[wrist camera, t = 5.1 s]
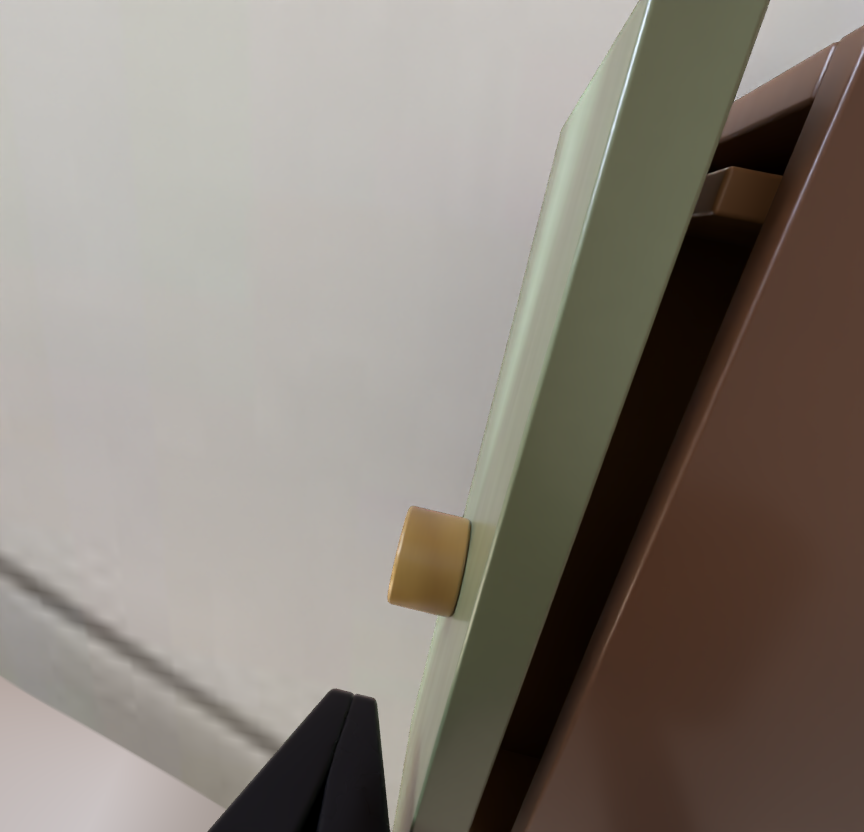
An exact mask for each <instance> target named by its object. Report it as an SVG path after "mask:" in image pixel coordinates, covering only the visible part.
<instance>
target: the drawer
mask: <svg viewBox="0 0 864 832" xmlns="http://www.w3.org/2000/svg"><path fill="white" fill-rule="evenodd" d="M769 2H770V0H639V2H638V3H637V5H636V7H635V8H634V10H633V12H632V13H631V15H630V17H629V18H628V20H627V22H626V23H625V25H624V27H623V28H622V30H621V32H620V33H619V35H618V37H617V38H616V40H615V42H614V43H613V45H612V46H611V48H610V50H609V51H608V53H607V55H606V56H605V58H604V60H603V61H602V63H601V65H600V66H599V68H598V70H597V71H596V73H595V75H594V76H593V78H592V80H591V81H590V83H589V85H588V86H587V88H586V90H585V91H584V93H583V95H582V96H581V98H580V100H579V101H578V103H577V105H576V106H575V108H574V110H573V111H572V113H571V115H570V116H569V118H568V120H567V121H566V123H565V124H564V126H563V128H562V129H561V133H560V137H559V141H558V145H557V149H556V153H555V157H554V161H553V164H552V168H551V172H550V176H549V180H548V184H547V188H546V192H545V196H544V200H543V204H542V208H541V212H540V216H539V220H538V224H537V228H536V231H535V235H534V239H533V243H532V247H531V251H530V255H529V259H528V263H527V267H526V271H525V275H524V279H523V283H522V287H521V291H520V295H519V299H518V302H517V306H516V310H515V314H514V318H513V322H512V326H511V330H510V334H509V338H508V342H507V346H506V350H505V354H504V358H503V362H502V366H501V370H500V373H499V377H498V381H497V385H496V389H495V393H494V397H493V401H492V405H491V409H490V413H489V417H488V421H487V425H486V429H485V433H484V437H483V440H482V444H481V448H480V452H479V456H478V460H477V464H476V468H475V472H474V476H473V480H472V484H471V488H470V492H469V496H468V500H467V504H466V508H465V511H464V515H463V517H459V516H454V515H450V514H446V513H442V512H437V511H433V510H429V509H424V508H420V507H416V506H411V507H410V508H409V510H408V512H407V515H406V518H405V522H404V525H403V529H402V533H401V536H400V540H399V544H398V548H397V552H396V557H395V561H394V565H393V570H392V574H391V579H390V584H389V590H388V602H389V603H390V604H393V605H397V606H401V607H406V608H410V609H414V610H418V611H422V612H426V613H430V614H434V615H438V618H437V622H436V626H435V630H434V634H433V638H432V642H431V646H430V650H429V653H428V657H427V661H426V665H425V669H424V673H423V677H422V681H421V685H420V689H419V693H418V697H417V701H416V705H415V709H414V713H413V717H412V720H411V726H410V732H409V738H408V744H407V750H406V756H405V762H404V768H403V773H402V779H401V785H400V791H399V797H398V803H397V809H396V815H395V821H394V827H393V832H511V830H512V828H513V825H514V823H515V821H516V818H517V816H518V813H519V811H520V809H521V806H522V804H523V801H524V799H525V797H526V794H527V792H528V789H529V787H530V784H531V782H532V780H533V777H534V775H535V772H536V770H537V768H538V765H539V763H540V760H541V758H542V756H543V753H544V751H545V748H546V746H547V743H548V741H549V739H550V736H551V734H552V731H553V729H554V727H555V724H556V722H557V719H558V717H559V715H560V712H561V710H562V707H563V705H564V703H565V700H566V698H567V695H568V693H569V690H570V688H571V686H572V683H573V681H574V678H575V676H576V674H577V671H578V669H579V666H580V664H581V662H582V659H583V657H584V654H585V652H586V649H587V647H588V645H589V642H590V640H591V637H592V635H593V633H594V630H595V628H596V625H597V623H598V621H599V618H600V616H601V613H602V611H603V609H604V606H605V604H606V601H607V599H608V596H609V594H610V592H611V589H612V587H613V584H614V582H615V580H616V577H617V575H618V572H619V570H620V568H621V565H622V563H623V560H624V558H625V555H626V553H627V551H628V548H629V546H630V543H631V541H632V539H633V536H634V534H635V531H636V529H637V527H638V524H639V522H640V519H641V517H642V514H643V512H644V510H645V507H646V505H647V502H648V500H649V498H650V495H651V493H652V490H653V488H654V486H655V483H656V481H657V478H658V476H659V474H660V471H661V469H662V466H663V464H664V461H665V459H666V457H667V454H668V452H669V449H670V447H671V445H672V442H673V440H674V437H675V435H676V433H677V430H678V428H679V425H680V423H681V420H682V418H683V416H684V413H685V411H686V408H687V406H688V404H689V401H690V399H691V396H692V394H693V392H694V389H695V387H696V384H697V382H698V380H699V377H700V375H701V372H702V370H703V367H704V365H705V363H706V360H707V358H708V355H709V353H710V351H711V348H712V346H713V343H714V341H715V339H716V336H717V334H718V331H719V329H720V326H721V324H722V322H723V319H724V317H725V314H726V312H727V310H728V307H729V305H730V302H731V300H732V298H733V295H734V293H735V290H736V288H737V286H738V283H739V281H740V278H741V276H742V273H743V271H744V269H745V266H746V264H747V261H748V259H749V257H750V254H751V252H752V249H753V247H754V245H755V242H756V240H757V237H758V235H759V232H760V230H761V228H762V225H763V223H764V220H765V218H766V216H767V213H768V211H769V208H770V206H771V204H772V201H773V199H774V196H775V194H776V191H777V189H778V187H779V184H780V182H781V179H782V177H783V176H782V175H776V174H771V173H766V172H761V171H756V170H751V169H746V168H740V167H735V166H731V167H727V168H724V169H721V170H718V171H715V172H712V173H709V174H707V173H708V171H709V168H710V165H711V162H712V160H713V157H714V154H715V151H716V149H717V146H718V143H719V140H720V137H721V135H722V132H723V129H724V126H725V124H726V121H727V118H728V115H729V113H730V110H731V107H732V104H733V102H734V99H735V96H736V93H737V91H738V88H739V85H740V82H741V79H742V77H743V74H744V71H745V68H746V66H747V63H748V60H749V57H750V55H751V52H752V49H753V46H754V44H755V41H756V38H757V35H758V33H759V30H760V27H761V24H762V21H763V19H764V16H765V13H766V10H767V8H768V5H769Z"/></svg>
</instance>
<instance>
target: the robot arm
mask: <svg viewBox="0 0 864 832" xmlns="http://www.w3.org/2000/svg"><path fill="white" fill-rule="evenodd" d="M208 832H390V827H389V818H388V808H387V798H386V788H385V778H384V768H383V758H382V748H381V739H380V729H379V719H378V709H377V702H376V700H375V699H374V698H372V697H368V696H364V695H360V694H355V695H354V694H353V693H351V692H348V691H344V690H340V689H332V690H330V691H329V692H328V693H327V694H326V695H325V697H324V698H323V699H322V700H321V701H320V702H319V703H318V705H317V706H316V707H315V708H314V709H313V710H312V712H311V713H310V714H309V715H308V716H307V717H306V719H305V720H304V721H303V722H302V723H301V724H300V725H299V727H298V728H297V729H296V730H295V731H294V732H293V734H292V735H291V736H290V737H289V738H288V739H287V740H286V742H285V743H284V744H283V745H282V746H281V747H280V749H279V750H278V751H277V752H276V753H275V754H274V755H273V757H272V758H271V759H270V760H269V761H268V762H267V764H266V765H265V766H264V767H263V768H262V769H261V770H260V772H259V773H258V774H257V775H256V776H255V777H254V779H253V780H252V781H251V782H250V783H249V784H248V786H247V787H246V788H245V789H244V790H243V791H242V792H241V794H240V795H239V796H238V797H237V798H236V799H235V801H234V802H233V803H232V804H231V805H230V806H229V807H228V809H227V810H226V811H225V812H224V813H223V814H222V816H221V817H220V818H219V819H218V820H217V821H216V822H215V824H214V825H213V826H212V827H211V828H210V830H209V831H208Z"/></svg>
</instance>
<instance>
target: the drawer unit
mask: <svg viewBox="0 0 864 832" xmlns="http://www.w3.org/2000/svg"><path fill="white" fill-rule="evenodd" d="M731 166H735V167H740V168H746V169H751V170H756V171H761V172H766V173H771V174H776V175H782V176H783V177H782V179H781V182H780V184H779V187H778V189H777V191H776V194H775V196H774V199H773V201H772V204H771V206H770V208H769V211H768V213H767V216H766V218H765V220H764V223H763V225H762V228H761V230H760V232H759V235H758V237H757V240H756V242H755V245H754V247H753V249H752V252H751V254H750V257H749V259H748V261H747V264H746V266H745V269H744V271H743V273H742V276H741V278H740V281H739V283H738V286H737V288H736V290H735V293H734V295H733V298H732V300H731V302H730V305H729V307H728V310H727V312H726V314H725V317H724V319H723V322H722V324H721V326H720V329H719V331H718V334H717V336H716V339H715V341H714V343H713V346H712V348H711V351H710V353H709V355H708V358H707V360H706V363H705V365H704V367H703V370H702V372H701V375H700V377H699V380H698V382H697V384H696V387H695V389H694V392H693V394H692V396H691V399H690V401H689V404H688V406H687V408H686V411H685V413H684V416H683V418H682V420H681V423H680V425H679V428H678V430H677V433H676V435H675V437H674V440H673V442H672V445H671V447H670V449H669V452H668V454H667V457H666V459H665V461H664V464H663V466H662V469H661V471H660V474H659V476H658V478H657V481H656V483H655V486H654V488H653V490H652V493H651V495H650V498H649V500H648V502H647V505H646V507H645V510H644V512H643V514H642V517H641V519H640V522H639V524H638V527H637V529H636V531H635V534H634V536H633V539H632V541H631V543H630V546H629V548H628V551H627V553H626V555H625V558H624V560H623V563H622V565H621V568H620V570H619V572H618V575H617V577H616V580H615V582H614V584H613V587H612V589H611V592H610V594H609V596H608V599H607V601H606V604H605V606H604V609H603V611H602V613H601V616H600V618H599V621H598V623H597V625H596V628H595V630H594V633H593V635H592V637H591V640H590V642H589V645H588V647H587V649H586V652H585V654H584V657H583V659H582V662H581V664H580V666H579V669H578V671H577V674H576V676H575V678H574V681H573V683H572V686H571V688H570V690H569V693H568V695H567V698H566V700H565V703H564V705H563V707H562V710H561V712H560V715H559V717H558V719H557V722H556V724H555V727H554V729H553V731H552V734H551V736H550V739H549V741H548V743H547V746H546V748H545V751H544V753H543V756H542V758H541V760H540V763H539V765H538V768H537V770H536V772H535V775H534V777H533V780H532V782H531V784H530V787H529V789H528V792H527V794H526V797H525V799H524V801H523V804H522V806H521V809H520V811H519V813H518V816H517V818H516V821H515V823H514V825H513V828H512V830H511V832H864V25H863V26H862V27H860V28H858V29H857V30H855V31H853V32H851V33H850V34H848V35H846V36H845V37H843V38H842V39H841V41H840V42H836V43H833V44H831V45H829V46H828V47H826V48H824V49H823V50H821V51H819V52H818V53H816V54H814V55H812V56H811V57H809V58H807V59H806V60H804V61H802V62H801V63H799V64H797V65H796V66H794V67H792V68H790V69H789V70H787V71H785V72H784V73H782V74H780V75H779V76H777V77H775V78H774V79H772V80H770V81H768V82H767V83H765V84H763V85H762V86H760V87H758V88H757V89H755V90H753V91H751V92H750V93H748V94H746V95H745V96H743V97H741V98H740V99H738V100H736V101H735V102H733V104H732V107H731V110H730V113H729V115H728V118H727V121H726V124H725V126H724V129H723V132H722V135H721V137H720V140H719V143H718V146H717V149H716V151H715V154H714V157H713V160H712V162H711V165H710V168H709V171H708V173H707V174H709V173H712V172H715V171H718V170H721V169H724V168H727V167H731Z"/></svg>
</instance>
